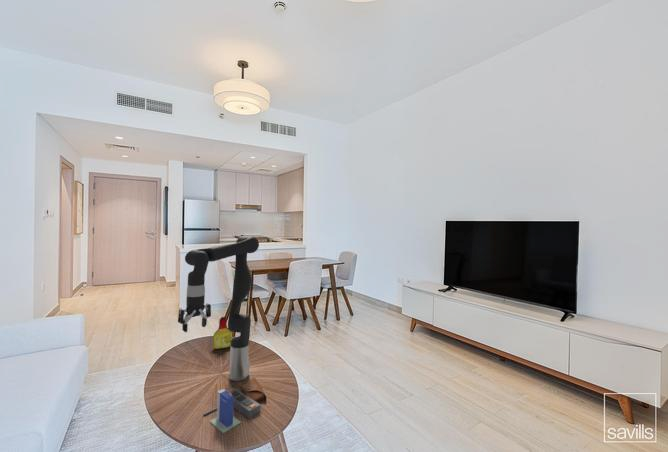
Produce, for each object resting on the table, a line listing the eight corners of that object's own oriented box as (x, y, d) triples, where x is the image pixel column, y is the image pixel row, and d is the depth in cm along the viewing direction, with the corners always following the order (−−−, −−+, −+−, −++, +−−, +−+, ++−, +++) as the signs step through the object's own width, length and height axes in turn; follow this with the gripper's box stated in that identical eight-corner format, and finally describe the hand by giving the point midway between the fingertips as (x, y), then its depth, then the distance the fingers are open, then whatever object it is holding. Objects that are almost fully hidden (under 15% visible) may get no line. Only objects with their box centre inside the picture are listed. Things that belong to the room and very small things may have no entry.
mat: (227, 412, 129) (227, 411, 129) (240, 422, 123) (240, 421, 123) (209, 421, 123) (209, 421, 123) (223, 433, 117) (223, 432, 117)
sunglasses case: (238, 386, 150) (245, 373, 151) (250, 390, 153) (257, 377, 155) (248, 406, 134) (256, 391, 136) (261, 409, 138) (269, 395, 139)
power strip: (192, 406, 133) (192, 399, 133) (227, 389, 147) (228, 382, 146) (224, 432, 117) (224, 424, 117) (260, 411, 131) (260, 403, 131)
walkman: (232, 423, 122) (233, 395, 122) (226, 427, 120) (227, 398, 120) (222, 415, 127) (223, 387, 127) (216, 418, 125) (217, 390, 124)
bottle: (213, 351, 187) (214, 319, 187) (211, 347, 193) (212, 316, 192) (232, 347, 193) (234, 317, 193) (230, 343, 199) (231, 314, 198)
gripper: (206, 290, 144) (205, 323, 144) (175, 295, 133) (174, 331, 133) (214, 293, 139) (213, 327, 140) (184, 298, 128) (182, 335, 128)
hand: (194, 329), depth 136 cm, fingers open, 8 cm apart
